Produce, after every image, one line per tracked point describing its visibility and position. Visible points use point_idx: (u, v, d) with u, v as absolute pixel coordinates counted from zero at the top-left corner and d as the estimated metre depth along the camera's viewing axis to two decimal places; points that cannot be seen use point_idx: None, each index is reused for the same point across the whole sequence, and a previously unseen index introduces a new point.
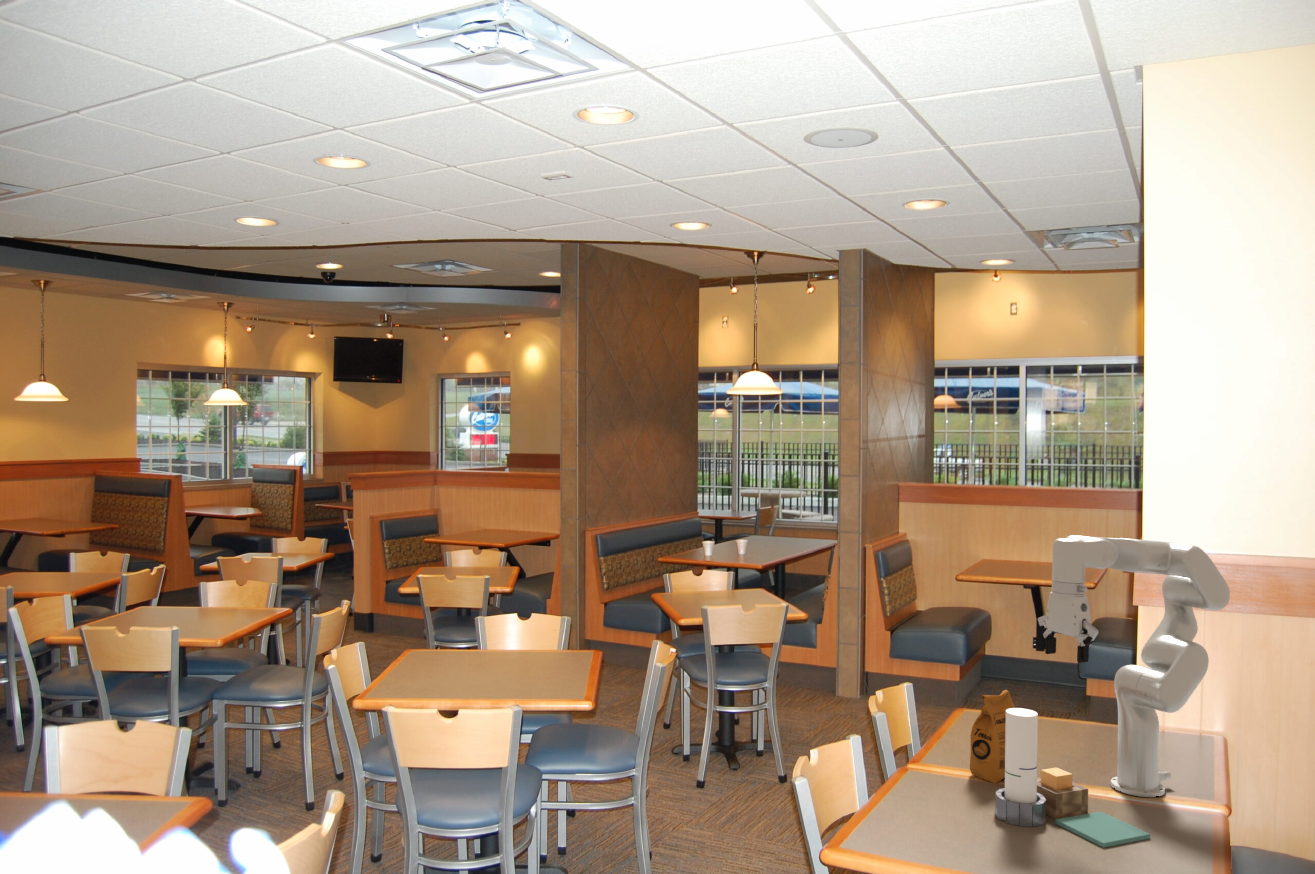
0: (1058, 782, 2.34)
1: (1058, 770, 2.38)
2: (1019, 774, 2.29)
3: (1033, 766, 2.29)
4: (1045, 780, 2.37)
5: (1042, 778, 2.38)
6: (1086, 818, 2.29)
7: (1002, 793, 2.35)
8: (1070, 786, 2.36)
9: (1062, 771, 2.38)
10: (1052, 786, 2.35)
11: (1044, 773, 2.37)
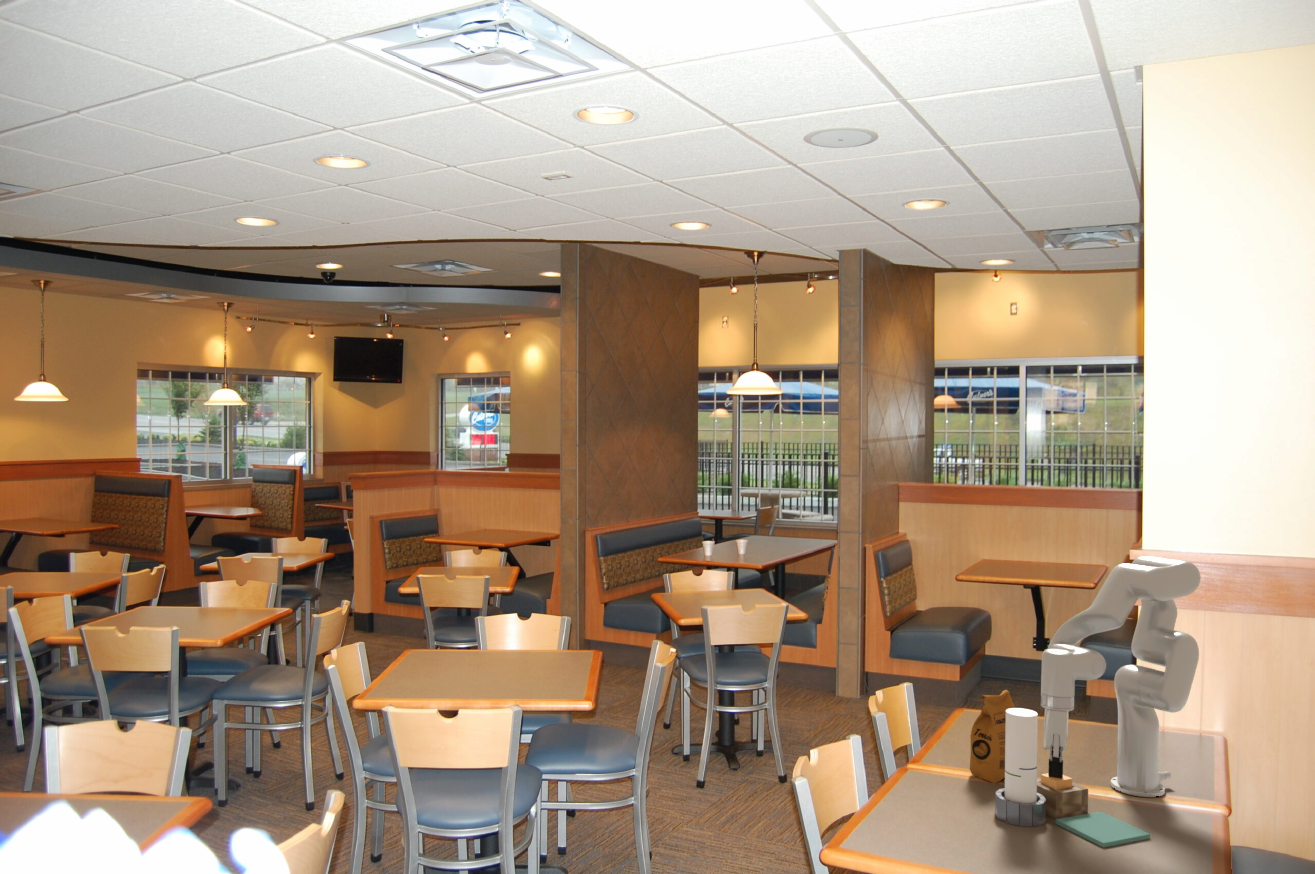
0: (1058, 787, 2.34)
1: None
2: (1019, 774, 2.29)
3: (1033, 766, 2.29)
4: None
5: (1042, 782, 2.38)
6: (1086, 818, 2.29)
7: (1002, 793, 2.35)
8: None
9: None
10: None
11: (1044, 777, 2.37)
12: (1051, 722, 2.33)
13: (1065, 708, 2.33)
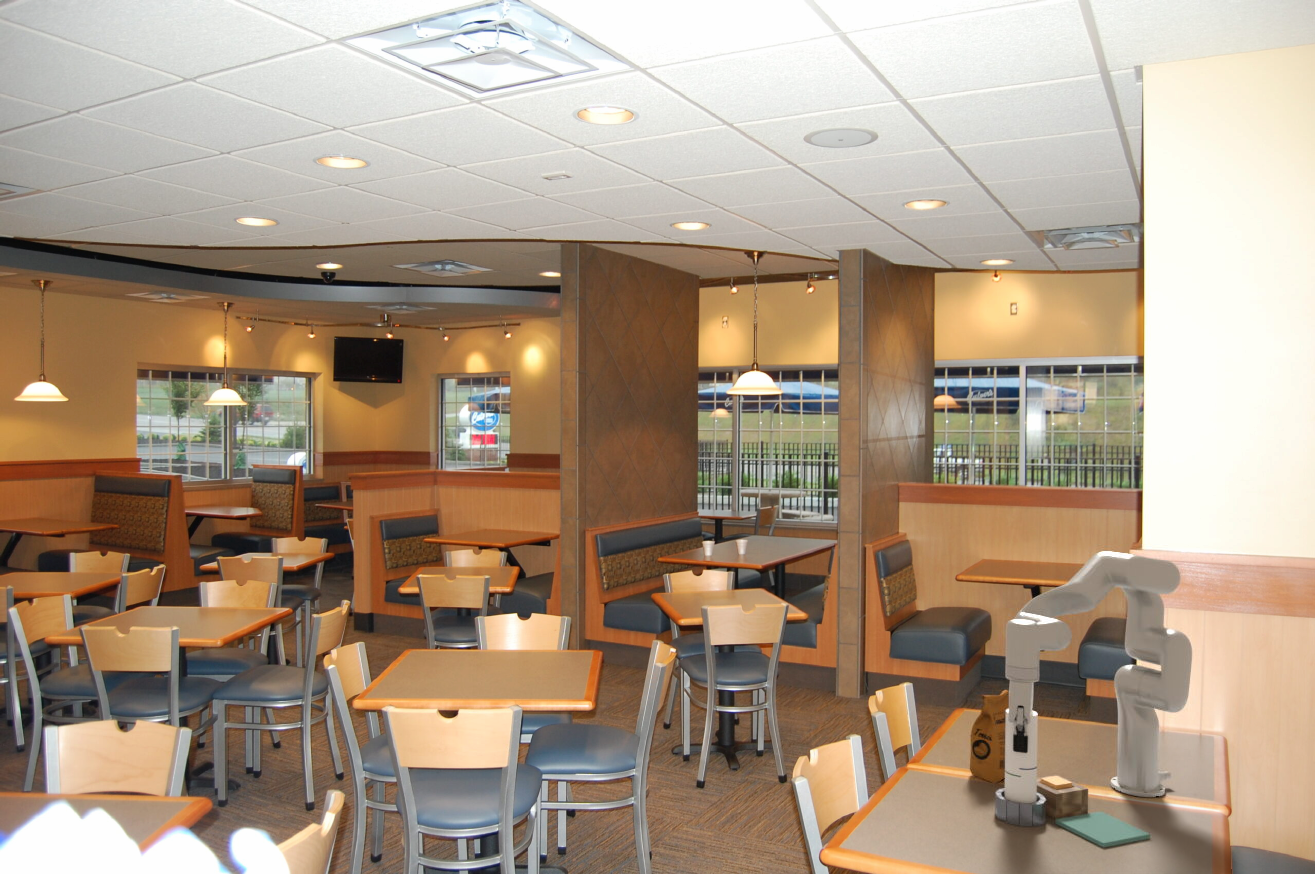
0: None
1: (1057, 778, 2.38)
2: (1019, 774, 2.29)
3: (1033, 766, 2.29)
4: None
5: None
6: (1086, 818, 2.29)
7: (1002, 793, 2.35)
8: None
9: (1062, 780, 2.38)
10: None
11: (1044, 781, 2.37)
12: (1016, 694, 2.28)
13: (1030, 679, 2.28)
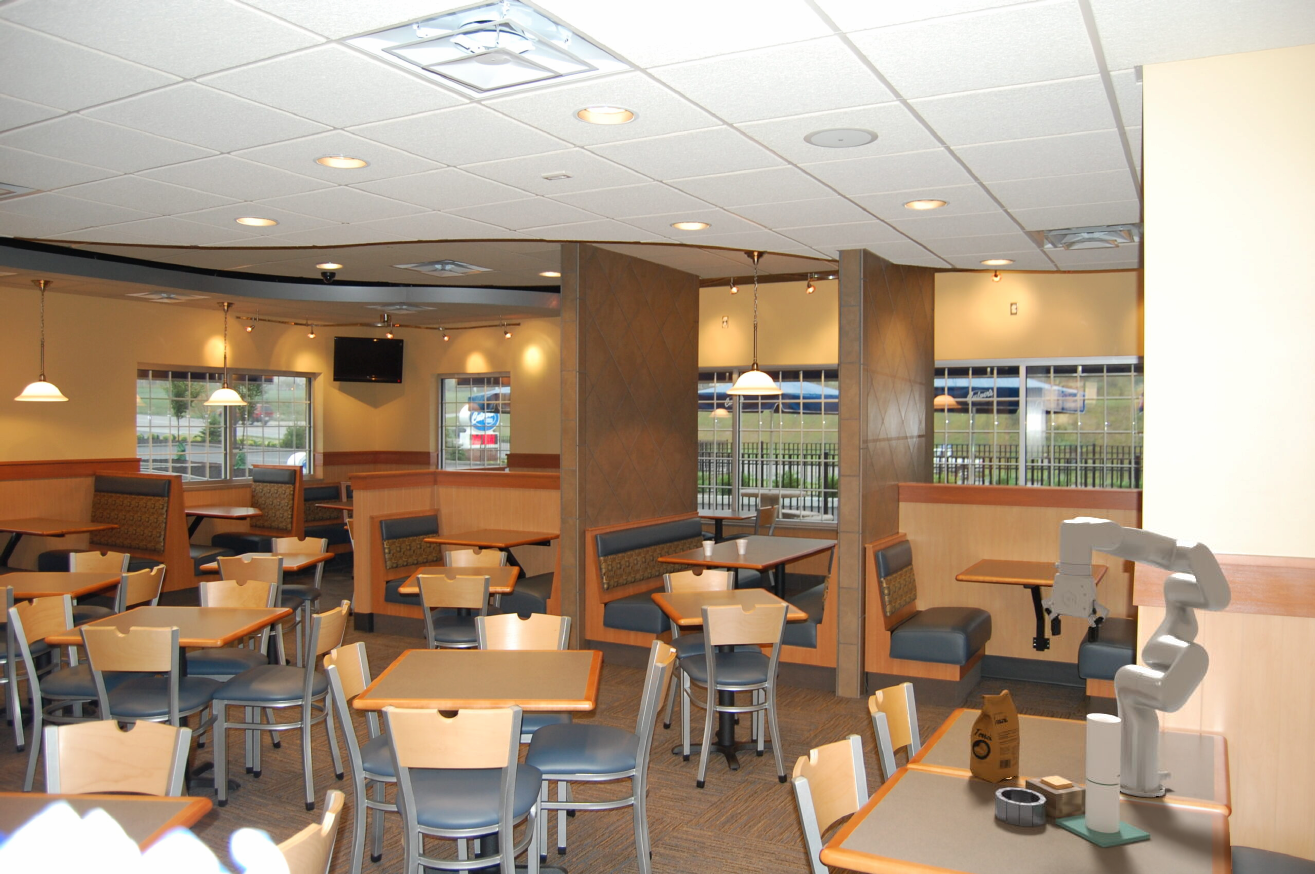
0: None
1: (1057, 778, 2.38)
2: (1117, 782, 2.21)
3: None
4: None
5: None
6: None
7: (1002, 793, 2.35)
8: None
9: (1062, 780, 2.38)
10: None
11: (1044, 781, 2.37)
12: (1090, 589, 2.38)
13: (1091, 574, 2.41)
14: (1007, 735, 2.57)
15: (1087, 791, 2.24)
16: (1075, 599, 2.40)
